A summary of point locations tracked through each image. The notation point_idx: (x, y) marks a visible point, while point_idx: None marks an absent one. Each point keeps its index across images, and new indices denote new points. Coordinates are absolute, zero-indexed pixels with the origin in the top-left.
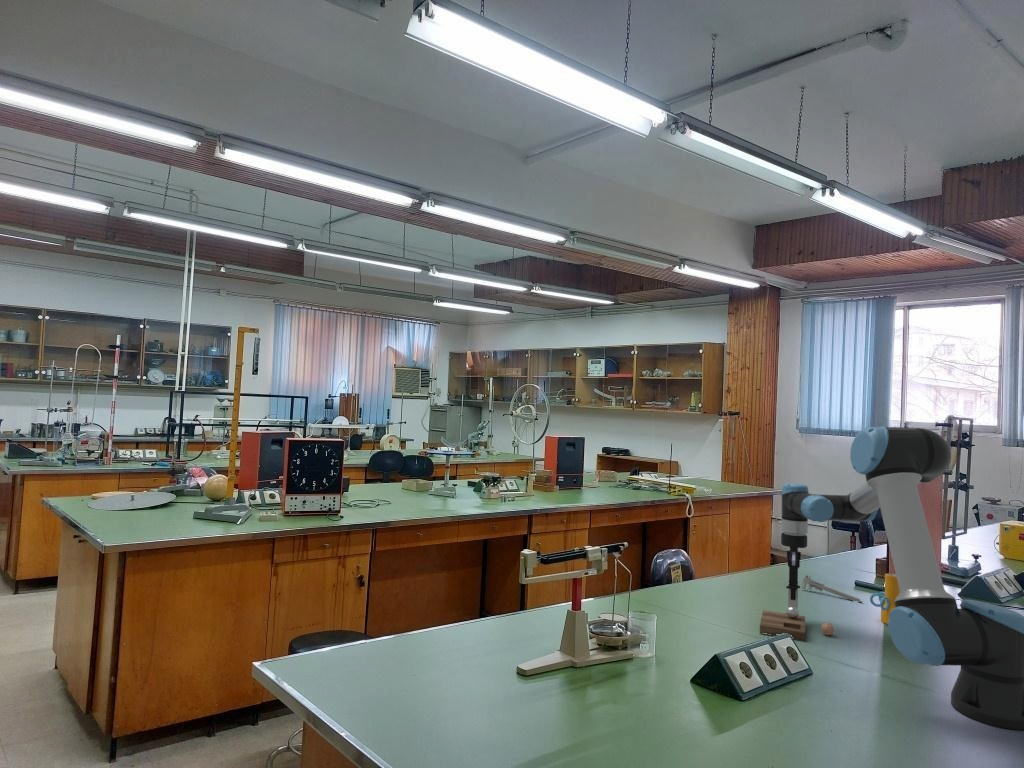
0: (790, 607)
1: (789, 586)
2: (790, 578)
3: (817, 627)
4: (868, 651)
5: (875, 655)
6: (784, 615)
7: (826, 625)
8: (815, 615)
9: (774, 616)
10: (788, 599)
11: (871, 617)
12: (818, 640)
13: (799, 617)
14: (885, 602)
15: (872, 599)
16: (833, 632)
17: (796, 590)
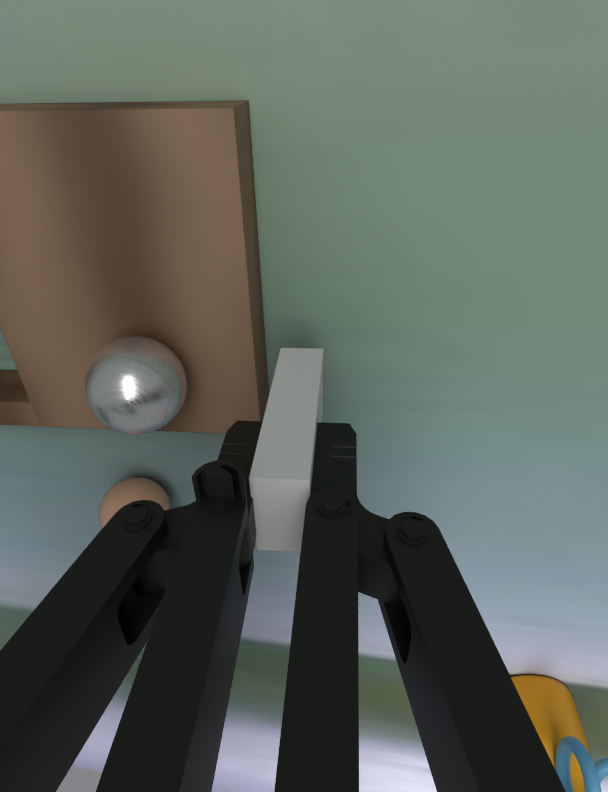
0: (96, 395)
1: (114, 521)
2: (29, 633)
3: None
4: (46, 586)
5: (18, 597)
6: (183, 308)
7: (101, 525)
8: (532, 463)
9: (89, 230)
10: (270, 399)
11: (595, 657)
12: (18, 445)
13: (208, 403)
14: None
15: (581, 770)
16: None
17: (258, 530)
